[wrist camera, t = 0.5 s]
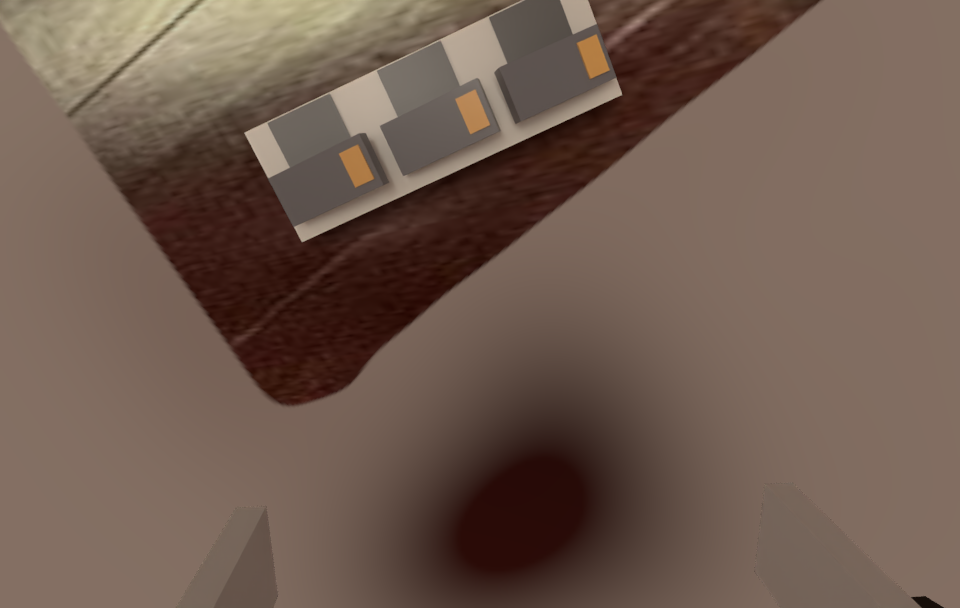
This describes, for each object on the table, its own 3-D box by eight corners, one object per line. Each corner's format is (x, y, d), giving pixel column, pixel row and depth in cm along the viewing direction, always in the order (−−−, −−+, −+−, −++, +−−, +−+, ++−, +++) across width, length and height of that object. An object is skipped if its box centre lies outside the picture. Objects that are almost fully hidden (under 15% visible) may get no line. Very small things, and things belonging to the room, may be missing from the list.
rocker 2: (385, 125, 34) (378, 125, 32) (479, 79, 32) (476, 77, 31) (408, 174, 34) (402, 176, 33) (501, 130, 33) (498, 131, 32)
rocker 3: (493, 72, 32) (499, 66, 31) (588, 30, 33) (597, 22, 31) (515, 124, 33) (521, 120, 32) (607, 82, 33) (617, 76, 32)
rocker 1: (277, 176, 34) (266, 178, 33) (365, 132, 33) (358, 133, 31) (302, 223, 35) (292, 227, 33) (389, 182, 33) (382, 185, 32)
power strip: (266, 135, 38) (239, 132, 33) (565, -7, 36) (580, -31, 32) (317, 234, 39) (298, 243, 35) (605, 101, 38) (625, 93, 33)
